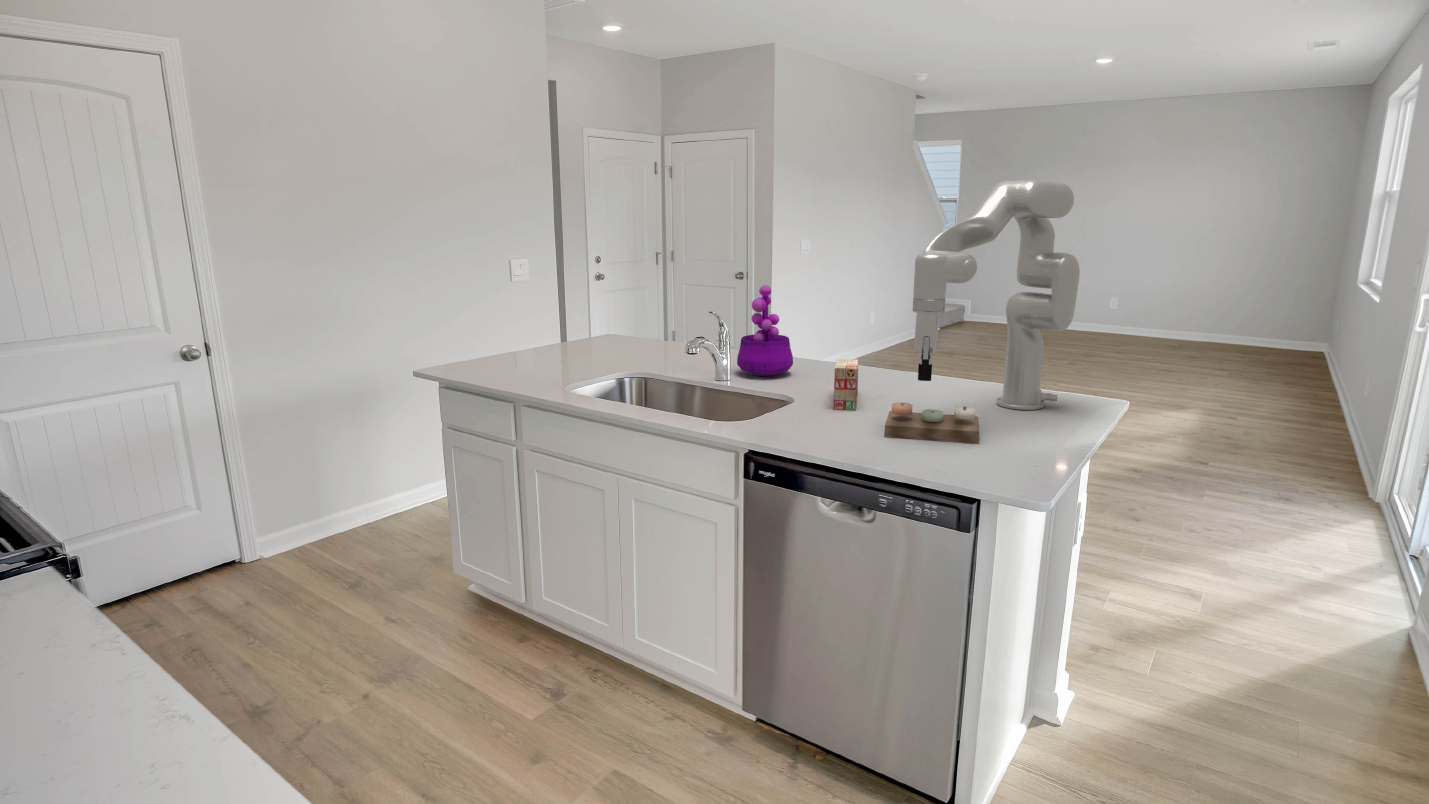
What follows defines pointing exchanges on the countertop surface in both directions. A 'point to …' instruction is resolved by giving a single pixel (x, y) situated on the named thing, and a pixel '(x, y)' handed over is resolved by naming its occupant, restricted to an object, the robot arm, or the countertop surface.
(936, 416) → the sage button
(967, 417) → the cream button
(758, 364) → the decorative plant
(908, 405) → the terracotta button
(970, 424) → the button board
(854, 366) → the stack of blocks
